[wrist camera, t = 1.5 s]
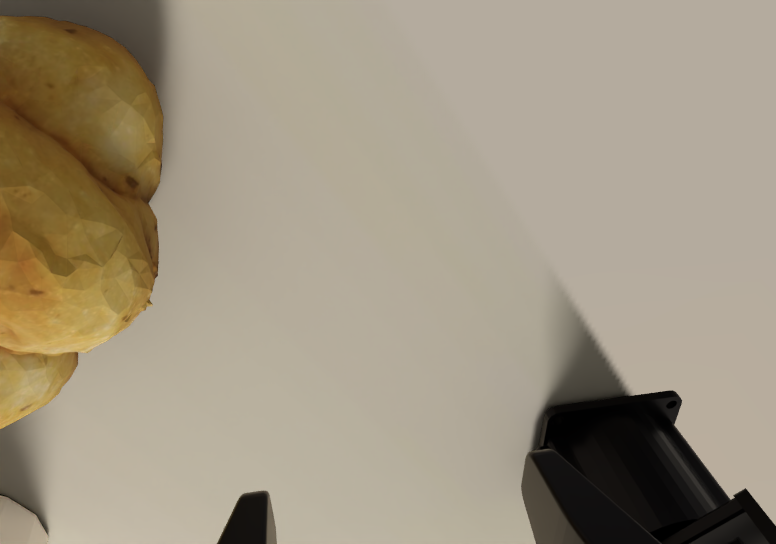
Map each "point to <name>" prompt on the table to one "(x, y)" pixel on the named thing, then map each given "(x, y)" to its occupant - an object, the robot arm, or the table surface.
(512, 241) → the table surface
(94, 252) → the bread roll
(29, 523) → the white cup
